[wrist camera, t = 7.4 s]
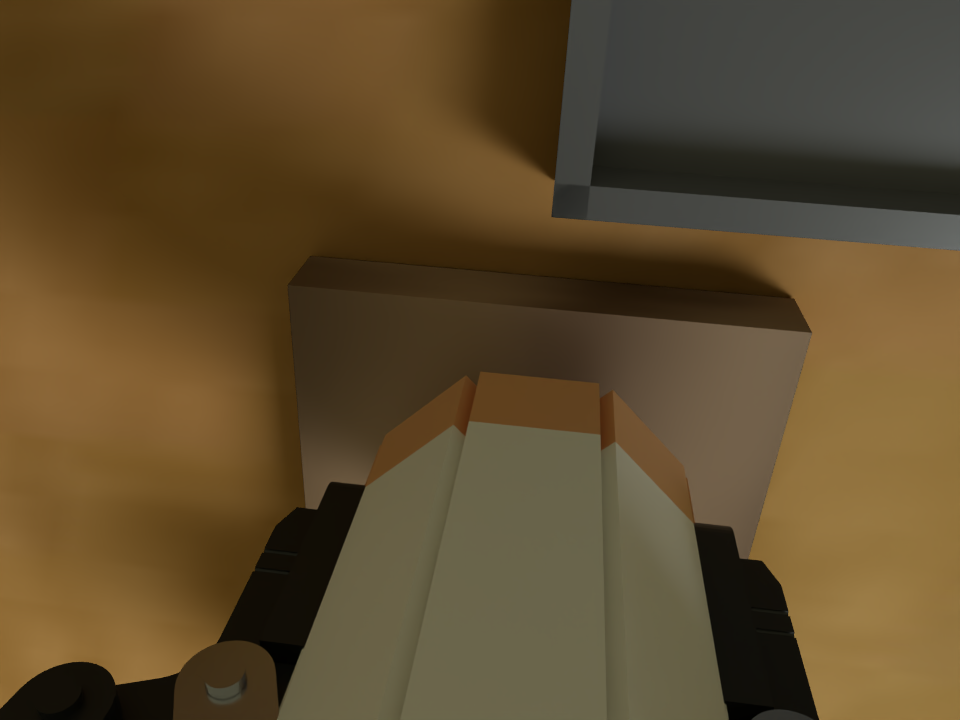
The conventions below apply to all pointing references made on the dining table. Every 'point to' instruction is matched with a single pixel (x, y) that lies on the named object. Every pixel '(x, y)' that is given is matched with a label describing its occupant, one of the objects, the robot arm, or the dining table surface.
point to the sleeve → (515, 570)
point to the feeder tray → (765, 118)
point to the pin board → (546, 365)
